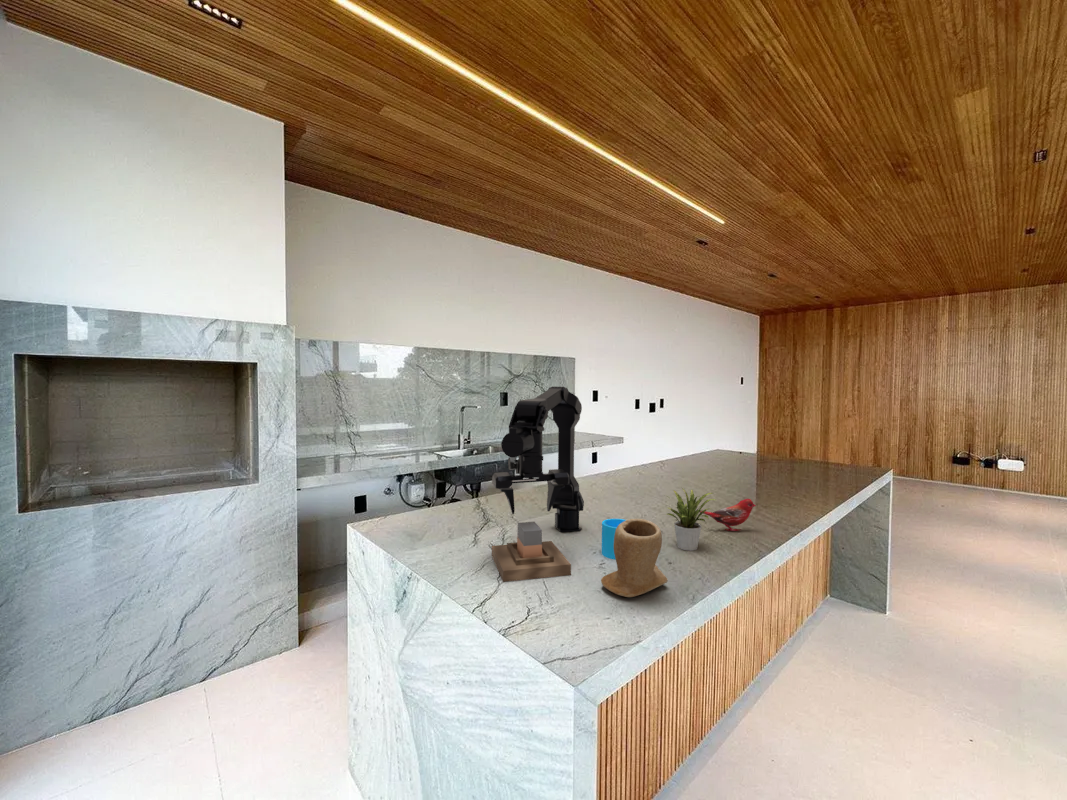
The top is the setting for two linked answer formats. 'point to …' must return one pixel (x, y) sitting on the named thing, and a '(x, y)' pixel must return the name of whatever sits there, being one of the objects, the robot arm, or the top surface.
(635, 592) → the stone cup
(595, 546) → the top surface
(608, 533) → the mug
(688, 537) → the house plant
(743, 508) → the decorative bird figurine
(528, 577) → the walnut cradle stand
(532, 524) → the block
